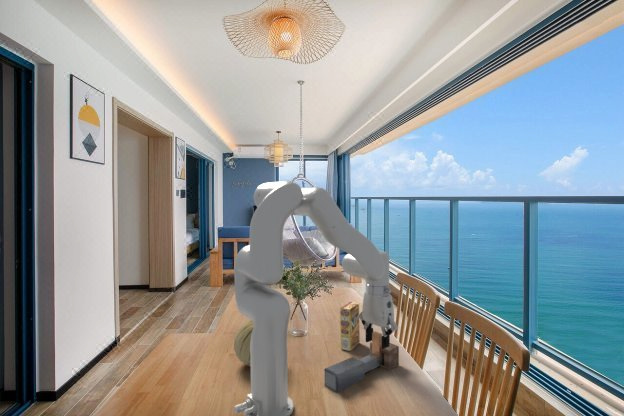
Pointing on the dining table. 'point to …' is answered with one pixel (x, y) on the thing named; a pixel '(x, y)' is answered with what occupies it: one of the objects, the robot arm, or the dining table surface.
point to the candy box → (349, 326)
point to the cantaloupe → (244, 343)
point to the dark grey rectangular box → (344, 374)
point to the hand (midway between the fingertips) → (377, 343)
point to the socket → (389, 356)
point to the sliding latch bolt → (374, 353)
